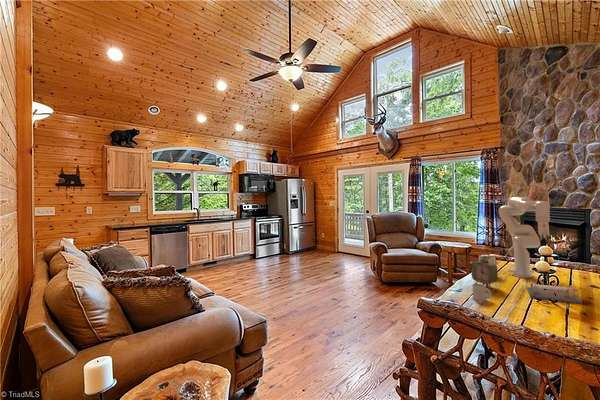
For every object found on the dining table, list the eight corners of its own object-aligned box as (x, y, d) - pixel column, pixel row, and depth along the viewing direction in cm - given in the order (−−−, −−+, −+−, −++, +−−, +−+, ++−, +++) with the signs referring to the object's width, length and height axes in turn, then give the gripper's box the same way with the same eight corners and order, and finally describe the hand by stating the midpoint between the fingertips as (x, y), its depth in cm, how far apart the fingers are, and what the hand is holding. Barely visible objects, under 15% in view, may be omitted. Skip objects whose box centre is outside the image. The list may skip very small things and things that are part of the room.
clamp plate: (530, 297, 182) (530, 286, 182) (527, 289, 195) (526, 279, 195) (582, 304, 169) (581, 292, 169) (574, 295, 182) (574, 284, 182)
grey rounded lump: (474, 296, 188) (473, 283, 188) (492, 299, 182) (491, 285, 182) (471, 299, 183) (471, 286, 183) (490, 303, 176) (490, 288, 176)
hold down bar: (533, 288, 186) (532, 285, 185) (532, 286, 189) (531, 283, 189) (578, 292, 174) (577, 289, 174) (576, 290, 178) (575, 287, 178)
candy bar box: (493, 274, 232) (493, 254, 232) (497, 276, 227) (496, 255, 227) (479, 274, 234) (478, 254, 234) (481, 276, 229) (481, 255, 229)
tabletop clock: (471, 284, 211) (470, 251, 210) (479, 282, 214) (478, 249, 214) (491, 290, 197) (490, 254, 197) (499, 288, 201) (498, 253, 200)
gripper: (552, 220, 191) (552, 247, 191) (547, 218, 203) (548, 243, 204) (537, 220, 195) (538, 246, 195) (534, 218, 208) (534, 243, 208)
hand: (543, 245), depth 200 cm, fingers closed
